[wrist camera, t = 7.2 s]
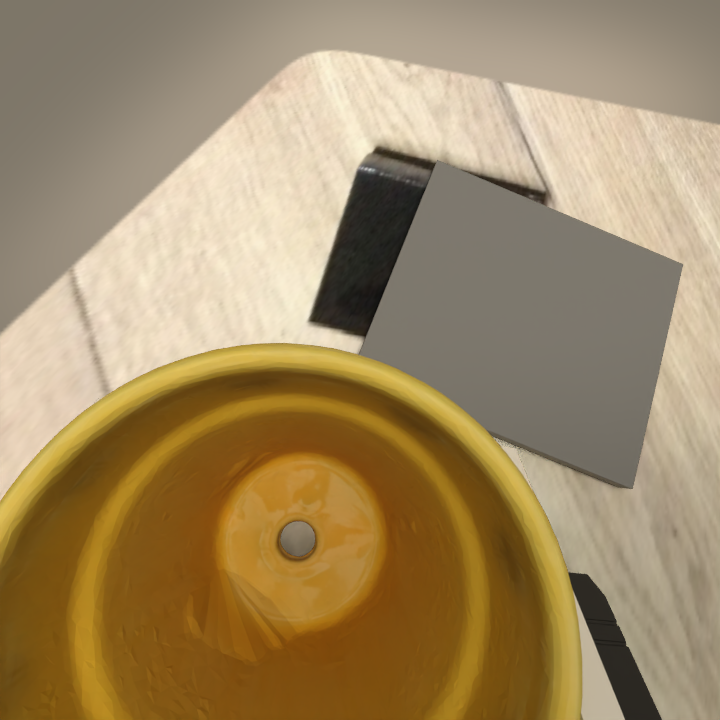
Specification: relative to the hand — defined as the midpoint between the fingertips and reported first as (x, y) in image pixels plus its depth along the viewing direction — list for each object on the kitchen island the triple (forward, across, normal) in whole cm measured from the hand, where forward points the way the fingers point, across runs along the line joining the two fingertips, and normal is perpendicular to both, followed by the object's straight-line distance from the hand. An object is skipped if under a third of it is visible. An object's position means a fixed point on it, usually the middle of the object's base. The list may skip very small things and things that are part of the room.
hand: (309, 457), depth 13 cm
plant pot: (+1, 0, -5) cm, 5 cm away
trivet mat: (+12, +10, 0) cm, 16 cm away
